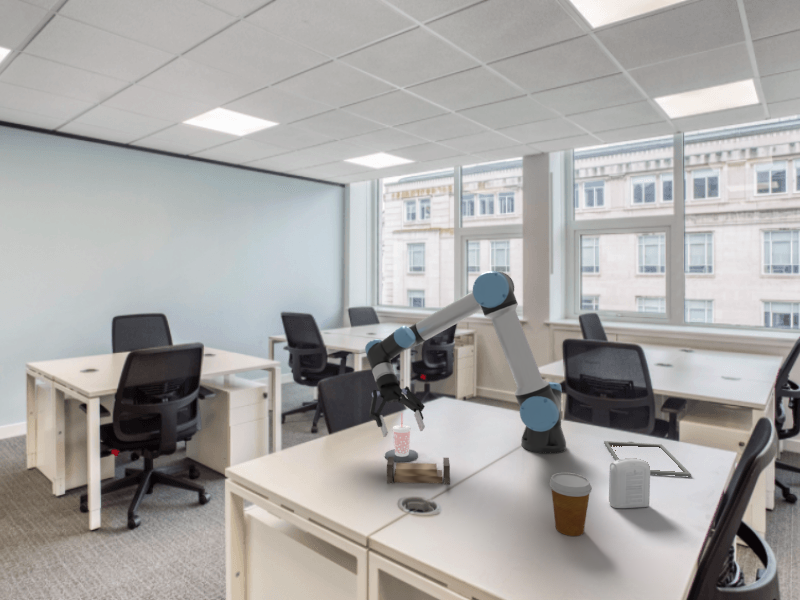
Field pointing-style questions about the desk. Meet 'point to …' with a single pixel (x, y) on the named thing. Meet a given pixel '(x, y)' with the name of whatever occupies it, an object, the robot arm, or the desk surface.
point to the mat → (410, 457)
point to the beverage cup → (401, 439)
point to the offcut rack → (417, 472)
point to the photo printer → (629, 483)
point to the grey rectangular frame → (658, 472)
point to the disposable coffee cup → (570, 502)
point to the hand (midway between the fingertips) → (404, 432)
